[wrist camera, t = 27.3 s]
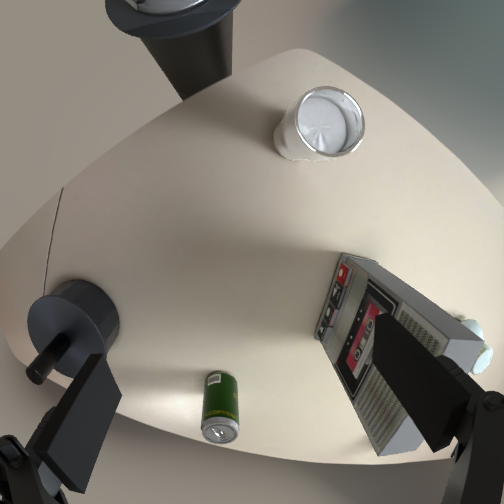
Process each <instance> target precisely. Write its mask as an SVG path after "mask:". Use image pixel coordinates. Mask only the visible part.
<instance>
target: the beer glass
mask: <svg viewBox="0 0 504 504" xmlns="http://www.w3.org/2000/svg"><path fill="white" fill-rule="evenodd" d="M364 130H365V121H364V116H363V113H362V110H361V108H360V106H359V105H358V103H357V102H356V101H355V100H354V98H353V97H351V96H350V95H349V94H348V93H346V92H345V91H343V90H341V89H338V88H335V87H330V86H321V87H316V88H313V89H311V90H309V91H308V92H306V93H305V94H304V95H302V96H301V97H299V98H298V99H297V100H296V101H294V102H293V103H292V104H291V106H290V107H289V108H288V110H287V111H286V113H285V115H284V117H283V121H281V122H280V123H279V124H278V126H277V127H276V129H275V131H274V135H273V141H274V145H275V148H276V149H277V151H278V152H279V153H280V155H282V156H283V157H284V158H286V159H288V160H292V161H302V160H309V161H327V160H332V159H335V158H338V157H341V156H344V155H347V154H349V153H351V152H352V151H353V150H355V149H356V148H357V146H358V145H359V144H360V142H361V140H362V138H363V135H364Z"/></svg>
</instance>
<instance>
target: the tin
mask: <svg viewBox="0 0 504 504" xmlns="http://www.w3.org/2000/svg"><path fill="white" fill-rule="evenodd" d="M49 295H59V296H63V297H66V298H68V299H70V300H72V301H74V302H76V303H77V304H78V305H80V306H81V307H82V308H83V309H85V310H86V311H87V312H88V313H89V314H90V315H91V317H92V318H93V319H94V320H95V322H96V323H97V325H98V326H99V328H100V330H101V332H102V334H103V337H104V340H105V343H106V348H107V353H108V351H109V349H110V348H111V346H112V344H113V343H114V341H115V339H116V338H117V336H118V333H119V316H118V313H117V310H116V308H115V306H114V304H113V302H112V301H111V299H110V298H109V297H108V295H107V294H106V293H105V292H104V291H103V290H102V289H100V288H99V287H98V286H96V285H94V284H92V283H90V282H88V281H84V280H71V281H68V282H65V283H64V284H62V285H61V286H60V287H58V288H57V289H56V290H55V291H53V292H52V293H51V294H49Z"/></svg>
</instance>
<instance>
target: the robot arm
mask: <svg viewBox="0 0 504 504" xmlns="http://www.w3.org/2000/svg"><path fill="white" fill-rule="evenodd" d="M125 1H127V2H128V3H129V4H130V5H131V6H132V7H133V8H134V9H135V10H136V11H138V12H140V13H142V14H145V15H149V16H156V17H164V16H173V15H178V14H182V13H185V12H188V11H191V10H193V9H195V8H197V7H199V6H201V5H203V4H204V3H206V2H207V1H208V0H125ZM372 363H373V364H374V365H375V367H376V368H377V370H378V371H379V373H380V374H381V375H382V377H383V378H384V380H385V381H386V383H387V384H388V386H389V387H390V388H391V390H392V391H393V393H394V394H395V396H396V397H397V399H398V400H399V402H400V403H401V405H402V406H403V408H404V409H405V410H406V412H407V413H408V415H409V416H410V418H411V419H412V421H413V422H414V424H415V425H416V427H417V428H418V430H419V431H420V433H421V434H422V436H423V438H424V439H425V441H426V442H427V444H428V445H429V447H430V448H431V450H432V451H433V453H435V452H437V451H439V450H441V449H443V448H445V447H447V446H449V445H450V443H451V441H452V439H453V437H454V436H455V437H456V438H457V440H458V443H457V445H456V447H455V449H454V451H453V452H452V454H451V457H452V458H453V456H454V459H453V463H452V468H451V472H450V475H449V479H448V483H447V487H446V490H445V493H444V496H443V499H442V503H441V504H500V503H501V497H502V491H503V484H504V395H502V394H501V393H499V392H495V391H487V392H485V391H484V390H483V389H482V388H481V387H480V386H479V385H478V384H477V383H476V382H475V381H474V380H473V379H472V378H471V377H470V376H469V375H468V374H467V373H465V372H464V370H463V369H462V368H461V367H459V365H458V364H457V363H456V362H455V361H453V360H452V359H451V358H449V357H447V356H445V355H442V354H441V355H439V356H436V357H434V356H433V355H432V354H431V353H430V352H429V351H428V350H427V349H426V348H425V347H424V346H423V345H422V344H421V343H420V342H419V341H418V340H417V339H416V338H415V337H414V336H413V335H412V334H411V333H410V332H409V331H408V330H407V329H406V328H405V327H404V326H403V325H402V324H401V323H400V322H399V321H398V320H397V319H396V318H395V317H393V316H392V315H391V314H390V313H389V312H387V313H383V314H379V315H375V325H374V342H373V355H372ZM121 397H122V394H121V392H120V390H119V388H118V386H117V384H116V382H115V380H114V377H113V375H112V373H111V371H110V368H109V366H108V364H107V361H106V359H105V356H104V354H103V353H100V354H90V356H89V357H88V358H87V360H86V361H85V363H84V364H83V366H82V367H81V369H80V370H79V372H78V373H77V375H76V376H75V378H74V380H73V381H72V383H71V384H70V386H69V387H68V389H67V391H66V392H65V394H64V395H63V397H62V398H61V400H60V402H59V403H58V405H57V406H56V407H54V406H53V407H52V408H51V409H50V410H49V411H48V412H46V414H45V415H44V417H43V418H42V420H41V422H40V423H39V425H38V426H37V429H36V430H35V432H34V433H33V435H32V436H31V438H30V440H29V442H28V443H27V445H26V447H25V448H23V446H22V445H21V443H20V442H19V441H18V440H17V438H16V437H14V436H13V435H4V436H2V437H1V438H0V495H1V496H2V500H0V504H68V502H67V499H66V497H65V495H64V493H63V491H62V490H61V489H60V486H61V484H62V483H63V484H64V485H65V486H66V487H67V488H68V489H69V490H70V491H74V492H78V493H82V494H84V493H85V491H86V488H87V485H88V482H89V479H90V476H91V473H92V470H93V468H94V465H95V462H96V460H97V457H98V454H99V451H100V449H101V446H102V444H103V441H104V439H105V436H106V434H107V431H108V428H109V426H110V423H111V421H112V418H113V416H114V414H115V411H116V409H117V406H118V404H119V401H120V399H121Z"/></svg>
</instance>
